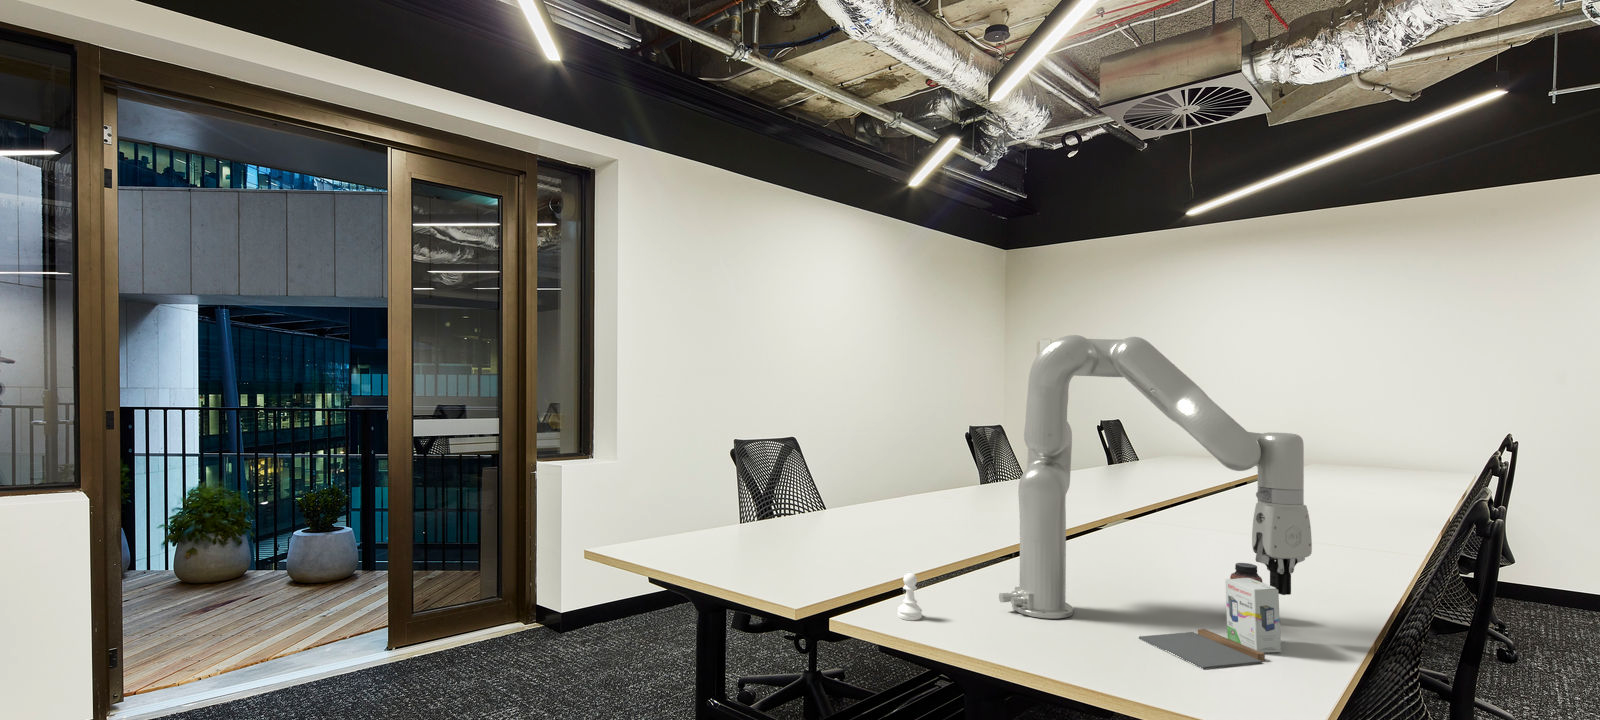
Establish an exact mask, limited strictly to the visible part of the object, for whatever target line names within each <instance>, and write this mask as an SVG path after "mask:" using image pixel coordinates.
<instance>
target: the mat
mask: <svg viewBox="0 0 1600 720" xmlns="http://www.w3.org/2000/svg"><path fill="white" fill-rule="evenodd" d="M1138 639H1139V640H1141V639H1142V640H1141V641H1143V642H1145V641H1146V643H1147V642H1148V644H1149V643H1150V644H1149V645H1151V644H1152V645H1151V646H1153V645H1155V646H1157V647H1156V648H1158V647H1159V648H1158V649H1160V648H1161V649H1160V650H1162V649H1164V650H1167V651H1169V652H1171V653H1173V654H1175V655H1177V656H1179V657H1181V658H1183V659H1185V660H1187V661H1189V662H1191V663H1193V664H1195V665H1197V666H1199V667H1198V668H1200V667H1201V668H1200V669H1202V668H1203V669H1202V670H1207V669H1206V668H1211V669H1218V668H1219V667H1221V668H1228V667H1229V668H1231V667H1240V666H1248V665H1260V664H1262V663H1263V661H1261V660H1258V659H1256V658H1253V657H1251V656H1249V655H1246V654H1244V653H1242V652H1239V651H1237V650H1235V649H1232V648H1230V647H1227V646H1225V645H1223V644H1220V643H1218V642H1216V641H1213V640H1211V639H1208V638H1206V637H1204V636H1201V635H1199V634H1198V632H1197V633H1196V632H1194V631H1189V632H1187V631H1186V632H1178V633H1177V632H1176V633H1162V634H1152V635H1143V636H1141V635H1140V636H1138ZM1155 646H1154V647H1155ZM1164 650H1163V651H1164ZM1179 657H1178V658H1179ZM1181 658H1180V659H1181ZM1183 659H1182V660H1183ZM1185 660H1184V661H1185ZM1187 661H1186V662H1187ZM1189 662H1188V663H1189ZM1191 663H1190V664H1191ZM1193 664H1192V665H1193ZM1195 665H1194V666H1195ZM1197 666H1196V667H1197Z"/></svg>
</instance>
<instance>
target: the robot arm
mask: <svg viewBox="0 0 1600 720" xmlns="http://www.w3.org/2000/svg"><path fill="white" fill-rule="evenodd" d="M1074 376H1075V377H1076V376H1079V377H1099V378H1100V377H1103V378H1124V379H1125V380H1127V381H1128V383H1130V384H1131V385H1132V386H1133V387H1135V389H1137V391H1139V392H1140V393H1141V394H1142V395H1143V396H1144V397H1145V398H1146V399H1147V400H1148V401H1149V402H1151V404H1153V405H1154V406H1155V407H1156V408H1157V409H1158V410H1159V411H1160V412H1162V413H1163V414H1164V416H1166V417H1167V418H1168V419H1170V420H1171V421H1172V422H1174V423H1175V424H1177V425H1178V426H1180V427H1181V428H1182V429H1183V430H1184V431H1186V432H1187V433H1188V434H1189V436H1191V437H1193V439H1195V440H1196V441H1197V443H1198V444H1200V445H1201V446H1202V447H1203V448H1204V449H1205V450H1206V451H1207V452H1209V454H1210V455H1212V457H1214V459H1216V460H1217V461H1218V462H1219V463H1220V464H1221V465H1222V466H1223V467H1225V468H1226V469H1229V470H1231V471H1236V472H1244V471H1248V470H1251V469H1253V468H1254V467H1256V468H1257V491H1256V493H1255V497H1256V498H1257V502H1256V503H1255V507H1254V512H1253V513H1254V514H1253V520H1252V521H1253V522H1252V530H1251V531H1252V532H1251V545H1252V552H1254V553H1255V558H1254V559H1255V562H1257V563H1261V564H1263V565H1265V566H1266V569H1267V571H1269V585H1270V586H1272V587H1275V588H1276V589H1277V590H1278V594H1279V595H1282V596H1286V595H1287V596H1290V595H1292V574H1293V573H1294V571H1295V566H1297V564H1299V563H1301V562H1304V561H1306V558H1309V557H1310V556H1311V555H1312V552H1313V551H1312V550H1313V543H1312V528H1311V520H1310V514H1309V510H1308V506H1307V505H1306V504H1304V502H1305V501H1304V499H1305V498H1304V497H1305V496H1304V492H1305V490H1304V484H1305V483H1304V482H1305V480H1304V479H1305V477H1304V475H1305V474H1304V473H1305V472H1304V469H1305V468H1304V465H1305V462H1304V459H1305V458H1304V457H1305V455H1304V454H1305V453H1304V452H1305V451H1304V448H1305V447H1304V440H1303V437H1302V436H1300V435H1299V434H1297V433H1292V432H1290V433H1288V432H1263V433H1260V432H1252V431H1247V430H1246V429H1245V428H1244V427H1243V426H1242V425H1241V424H1239V422H1237V421H1236V420H1235V419H1234V418H1233V417H1232V416H1230V415H1229V414H1228V413H1227V412H1226V411H1225V410H1224V409H1223V408H1221V406H1219V405H1218V404H1217V403H1216V402H1215V401H1213V400H1212V398H1210V397H1209V396H1208V394H1207V393H1205V391H1204V390H1203V389H1202V387H1200V386H1199V385H1198V384H1197V383H1196V382H1194V380H1192V379H1191V378H1190V377H1189V376H1187V375H1186V374H1185V373H1184V372H1183V371H1182V370H1180V369H1179V368H1178V367H1177V366H1176V365H1175V364H1174V363H1172V361H1170V359H1169V358H1167V357H1166V356H1165V355H1164V354H1162V353H1161V352H1160V351H1159V350H1158V349H1157V348H1156V347H1155V346H1154V345H1153V344H1151V343H1150V342H1149V341H1148V340H1146V339H1144V338H1142V337H1139V336H1130V337H1126V338H1124V339H1123V338H1122V339H1105V338H1104V339H1101V338H1086V337H1084V336H1081V335H1077V334H1071V335H1070V334H1069V335H1065V336H1063V337H1059V338H1058V339H1055V340H1053V341H1052V342H1050V343H1049V344H1047V345H1046V346H1044V347H1043V348H1042V349H1041V350H1040V351H1039V353H1037V355H1036V357H1035V358H1034V360H1033V362H1032V364H1031V367H1030V370H1029V374H1028V386H1027V396H1026V398H1027V399H1026V405H1025V407H1026V408H1025V424H1024V430H1023V437H1024V438H1023V439H1024V443H1025V445H1026V447H1027V463H1026V464H1027V468H1026V469H1025V470H1024V471H1023V473H1022V474H1021V476H1020V479H1019V483H1018V510H1019V586H1014V590H1013V591H1012V592H1001V593H999V594H998V601H999V602H1000V603H1010V604H1011V608H1012V609H1013V610H1014V611H1016V612H1017V613H1019V614H1022V615H1024V616H1029V617H1033V618H1034V617H1035V618H1039V619H1049V620H1050V619H1057V620H1058V619H1064V618H1065V619H1066V618H1069V617H1071V616H1072V615H1073V614H1074V607H1073V606H1072V605H1071V604H1069V603H1067V602H1066V599H1067V595H1066V591H1067V590H1066V589H1067V586H1066V585H1067V584H1066V583H1067V582H1066V576H1067V573H1066V572H1067V568H1066V567H1067V533H1066V532H1067V526H1066V525H1067V520H1066V519H1067V516H1066V515H1067V514H1066V499H1067V493H1068V491H1069V489H1070V485H1071V484H1070V483H1071V468H1072V447H1073V433H1072V427H1071V425H1070V423H1069V422H1068V405H1069V390H1070V389H1069V387H1070V383H1071V381H1072V379H1073V377H1074Z"/></svg>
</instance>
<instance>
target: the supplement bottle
mask: <svg viewBox="0 0 1600 720" xmlns="http://www.w3.org/2000/svg"><path fill="white" fill-rule="evenodd" d="M1234 566H1235V567H1234V569H1235V572H1232V573H1231V574H1230V578H1229V579H1238V578H1251V579H1254V580H1257V581H1259V582H1262V583H1263V578H1262V576H1260V575H1259V574H1258V565H1256V564H1253V563H1247V562H1236V563H1235V565H1234Z"/></svg>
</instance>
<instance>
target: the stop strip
mask: <svg viewBox="0 0 1600 720" xmlns="http://www.w3.org/2000/svg"><path fill="white" fill-rule="evenodd" d="M1197 634H1199V635H1201V636H1204V637H1206V638H1208V639H1211V640H1213V641H1216V642H1218V643H1220V644H1223V645H1225V646H1227V647H1230V648H1232V649H1235V650H1237V651H1239V652H1242V653H1244V654H1246V655H1249V656H1251V657H1253V658H1256V659H1258V660H1261V661H1262V662H1264V661H1265V659H1266V655H1265V654H1266V653H1262V652H1259V651H1257V650H1254V649H1252V648H1249V647H1247V646H1245V645H1242V644H1240V643H1237V642H1235V641H1232V640H1230V639H1228V638H1227V637H1225V636H1223V635H1221V634H1218V633H1215V632H1213V631H1210V630H1208V629H1206V628H1198V629H1197Z"/></svg>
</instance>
